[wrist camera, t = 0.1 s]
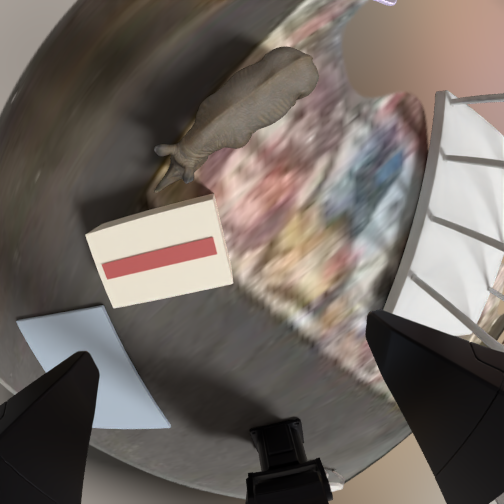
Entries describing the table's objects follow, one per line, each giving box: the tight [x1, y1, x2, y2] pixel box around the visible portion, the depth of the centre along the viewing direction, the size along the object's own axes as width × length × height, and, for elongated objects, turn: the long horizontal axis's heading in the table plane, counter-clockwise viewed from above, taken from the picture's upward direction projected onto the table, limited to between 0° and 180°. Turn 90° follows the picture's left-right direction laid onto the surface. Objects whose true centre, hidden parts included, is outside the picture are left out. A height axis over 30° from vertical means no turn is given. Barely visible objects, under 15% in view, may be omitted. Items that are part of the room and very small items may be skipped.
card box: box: [86, 193, 233, 308], centre depth 20 cm, size 6×10×4 cm, turn 101°
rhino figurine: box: [154, 47, 319, 193], centre depth 16 cm, size 4×14×6 cm, turn 131°
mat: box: [16, 305, 171, 429], centre depth 25 cm, size 18×13×1 cm
